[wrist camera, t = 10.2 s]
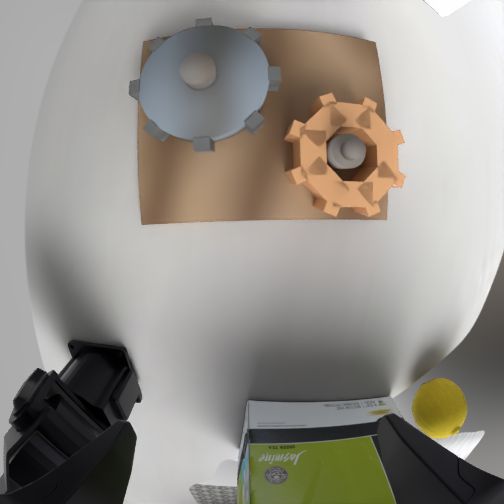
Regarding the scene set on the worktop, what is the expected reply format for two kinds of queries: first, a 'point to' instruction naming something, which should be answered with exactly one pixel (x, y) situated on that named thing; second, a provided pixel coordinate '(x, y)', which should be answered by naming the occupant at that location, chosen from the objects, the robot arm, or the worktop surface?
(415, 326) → the worktop surface
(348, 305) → the worktop surface
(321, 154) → the gear
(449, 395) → the lemon
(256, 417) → the tea box
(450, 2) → the pepper shaker
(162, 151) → the gear board
